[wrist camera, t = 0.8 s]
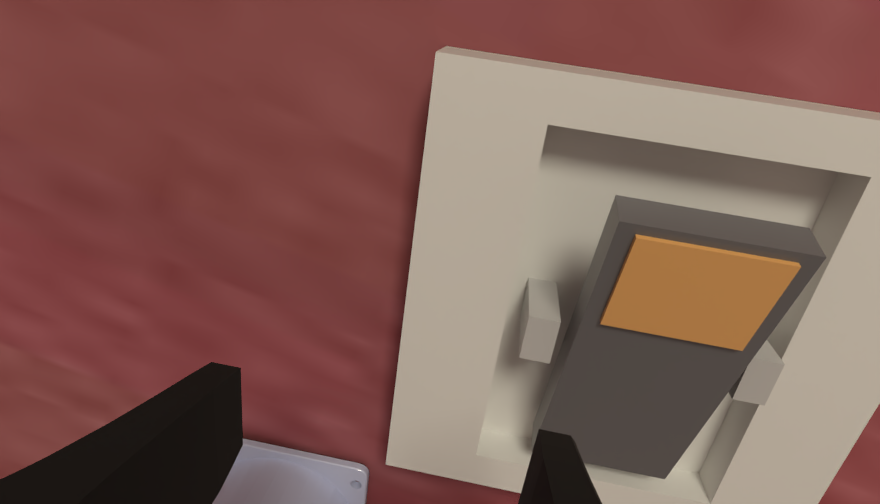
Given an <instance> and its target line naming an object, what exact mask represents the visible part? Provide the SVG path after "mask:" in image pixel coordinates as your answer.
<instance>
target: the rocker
mask: <svg viewBox="0 0 880 504" xmlns="http://www.w3.org/2000/svg"><path fill="white" fill-rule="evenodd" d="M826 258H827V257H826V255H825V254H824V252H823V250H822V248H821V247H820V245H819V243H818V242H817V240H816V238H815V236H814V235H813V233H812V231H811V229H810V228H807V227H801V226H795V225H789V224H783V223H778V222H772V221H766V220H760V219H754V218H748V217H742V216H737V215H731V214H725V213H719V212H713V211H707V210H701V209H696V208H690V207H684V206H678V205H672V204H666V203H660V202H654V201H649V200H643V199H637V198H631V197H625V196H619V195H615V198H614V201H613V204H612V206H611V209H610V212H609V215H608V218H607V220H606V223H605V226H604V229H603V231H602V234H601V237H600V240H599V242H598V245H597V248H596V251H595V254H594V256H593V259H592V262H591V265H590V267H589V270H588V273H587V276H586V278H585V281H584V284H583V287H582V290H581V292H580V295H579V298H578V301H577V303H576V306H575V309H574V312H573V314H572V317H571V320H570V323H569V326H568V328H567V331H566V334H565V337H564V339H563V342H562V345H561V348H560V350H559V353H558V356H557V359H556V362H555V364H554V367H553V370H552V373H551V375H550V378H549V381H548V384H547V386H546V389H545V392H544V395H543V398H542V400H541V403H540V406H539V409H538V411H537V414H536V417H535V420H534V422H533V432H532V452H533V448H534V444H535V441H536V437H537V433H538V430H539V429H542V430H547V431H552V432H557V433H561V434H566V435H571V437H572V438H573V439H574V441H575V443H576V445H577V448H578V450H579V453H580V455H581V458H582V460H583V462H584V463H589V464H593V465H598V466H603V467H608V468H613V469H617V470H622V471H627V472H632V473H637V474H642V475H646V476H651V477H656V478H661V479H665V478H666V477H667V476H668V474H669V473H670V472H671V470H672V469H673V467H674V466H675V465H676V463H677V462H678V461H679V459H680V458H681V456H682V455H683V454H684V452H685V451H686V450H687V448H688V447H689V446H690V444H691V443H692V441H693V440H694V439H695V437H696V436H697V435H698V433H699V432H700V430H701V429H702V428H703V426H704V425H705V424H706V422H707V421H708V419H709V418H710V417H711V415H712V414H713V413H714V411H715V410H716V408H717V407H718V406H719V404H720V403H721V402H722V400H723V399H724V398H725V396H726V395H727V393H728V392H729V391H730V389H731V388H732V387H733V385H734V384H735V382H736V381H737V380H738V378H739V377H740V376H741V374H742V373H743V371H744V370H745V369H746V367H747V366H748V365H749V363H750V362H751V360H752V359H753V358H754V356H755V355H756V354H757V352H758V351H759V349H760V348H761V347H762V345H763V344H764V343H765V341H766V340H767V339H768V337H769V336H770V334H771V333H772V332H773V330H774V329H775V328H776V326H777V325H778V323H779V322H780V321H781V319H782V318H783V317H784V315H785V314H786V312H787V311H788V310H789V308H790V307H791V306H792V304H793V303H794V301H795V300H796V299H797V297H798V296H799V295H800V293H801V292H802V291H803V289H804V288H805V286H806V285H807V284H808V282H809V281H810V280H811V278H812V277H813V275H814V274H815V273H816V271H817V270H818V269H819V267H820V266H821V264H822V263H823V262H824V260H825V259H826Z"/></svg>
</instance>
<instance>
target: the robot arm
mask: <svg viewBox="0 0 880 504" xmlns="http://www.w3.org/2000/svg"><path fill="white" fill-rule="evenodd" d="M368 480H369V470H368V468H367V467H366V466H364V465H363V464H360V463H356V462H351V461H346V460H342V459H337V458H332V457H328V456H323V455H318V454H314V453H309V452H304V451H300V450H295V449H290V448H286V447H281V446H276V445H272V444H267V443H262V442H258V441H253V440H248V439H244V438H243V432H242V400H241V368H238V367H233V366H228V365H223V364H218V363H213V362H211V363H209V364H207V365H206V366H204V367H202V368H200V369H199V370H197V371H195V372H194V373H192V374H190V375H189V376H187V377H185V378H184V379H182V380H181V381H179V382H177V383H176V384H174V385H172V386H171V387H169V388H167V389H166V390H164V391H162V392H161V393H159V394H158V395H156V396H154V397H153V398H151V399H149V400H148V401H146V402H144V403H142V404H141V405H139V406H137V407H136V408H134V409H132V410H131V411H129V412H127V413H126V414H124V415H122V416H120V417H119V418H117V419H115V420H114V421H112V422H110V423H108V424H107V425H105V426H103V427H101V428H99V429H97V430H96V431H94V432H92V433H90V434H88V435H86V436H85V437H83V438H81V439H79V440H77V441H75V442H74V443H72V444H70V445H68V446H66V447H64V448H62V449H61V450H59V451H57V452H55V453H53V454H51V455H50V456H48V457H46V458H44V459H42V460H40V461H38V462H36V463H34V464H32V465H30V466H28V467H26V468H23V469H21V470H19V471H17V472H15V473H13V474H11V475H9V476H7V477H5V478H2V479H0V504H366V499H367V490H368ZM357 481H358V482H357ZM518 504H602V502H601V500H600V498H599V496H598V494H597V492H596V489H595V487H594V485H593V483H592V481H591V479H590V476H589V474H588V472H587V469H586V467H585V465H584V462H583V460H582V458H581V455H580V453H579V450H578V448H577V445H576V443H575V441H574V439H573V438H572V437H571V435H566V434H561V433H557V432H552V431H547V430H542V429H539V430H538V433H537V437H536V441H535V444H534V448H533V452H532V455H531V459H530V462H529V466H528V470H527V473H526V477H525V480H524V484H523V488H522V491H521V495H520V499H519V502H518Z"/></svg>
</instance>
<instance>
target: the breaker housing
mask: <svg viewBox="0 0 880 504" xmlns="http://www.w3.org/2000/svg"><path fill="white" fill-rule="evenodd" d="M615 195H619V196H625V197H631V198H637V199H643V200H649V201H654V202H660V203H666V204H672V205H678V206H684V207H690V208H696V209H701V210H707V211H713V212H719V213H725V214H731V215H737V216H742V217H748V218H754V219H760V220H766V221H772V222H778V223H783V224H789V225H795V226H801V227H807V228H810V229H811V231H812V233H813V235H814V236H815V238H816V240H817V242H818V243H819V245H820V247H821V248H822V250H823V252H824V254H825V255H826V257H827V258H826V259H825V260H824V262H823V263H822V264H821V266H820V267H819V269H818V270H817V271H816V273H815V274H814V275H813V277H812V278H811V280H810V281H809V282H808V284H807V285H806V286H805V288H804V289H803V291H802V292H801V293H800V295H799V296H798V297H797V299H796V300H795V301H794V303H793V304H792V306H791V307H790V308H789V310H788V311H787V312H786V314H785V315H784V317H783V318H782V319H781V321H780V322H779V323H778V325H777V326H776V328H775V329H774V330H773V332H772V333H771V334H770V336H769V337H768V339H767V340H766V341H765V343H764V344H763V345H762V347H761V348H760V349H759V351H758V352H757V354H756V355H755V356H754V358H753V359H752V360H751V362H750V363H749V365H748V366H747V367H746V369H745V370H744V371H743V373H742V374H741V376H740V377H739V378H738V380H737V381H736V382H735V384H734V385H733V387H732V388H731V389H730V391H729V392H728V393H727V395H726V396H725V398H724V399H723V400H722V402H721V403H720V404H719V406H718V407H717V408H716V410H715V411H714V413H713V414H712V415H711V417H710V418H709V419H708V421H707V422H706V424H705V425H704V426H703V428H702V429H701V430H700V432H699V433H698V435H697V436H696V437H695V439H694V440H693V441H692V443H691V444H690V446H689V447H688V448H687V450H686V451H685V452H684V454H683V455H682V456H681V458H680V459H679V461H678V462H677V463H676V465H675V466H674V467H673V469H672V470H671V472H670V473H669V474H668V476H667V477H666V478H665V479H661V478H656V477H651V476H646V475H642V474H637V473H632V472H627V471H622V470H617V469H613V468H608V467H603V466H598V465H593V464H589V463H584V465H585V467H586V469H587V472H588V474H589V476H590V479H591V481H592V483H593V485H594V487H595V489H596V492H597V494H598V496H599V498H600V500H601V502H602V504H818V503H819V501H820V500H821V498H822V496H823V495H824V493H825V491H826V490H827V488H828V486H829V485H830V483H831V482H832V480H833V478H834V477H835V475H836V473H837V472H838V470H839V469H840V467H841V465H842V464H843V462H844V460H845V459H846V457H847V455H848V454H849V452H850V451H851V449H852V447H853V446H854V444H855V442H856V441H857V439H858V438H859V436H860V434H861V433H862V431H863V429H864V428H865V426H866V424H867V423H868V421H869V420H870V418H871V416H872V415H873V413H874V411H875V410H876V408H877V407H878V405H879V403H880V113H878V112H871V111H865V110H858V109H852V108H845V107H839V106H832V105H826V104H819V103H813V102H806V101H800V100H793V99H787V98H781V97H774V96H768V95H761V94H755V93H748V92H742V91H735V90H729V89H722V88H716V87H709V86H703V85H696V84H690V83H683V82H677V81H670V80H664V79H657V78H651V77H644V76H638V75H631V74H625V73H618V72H612V71H605V70H599V69H592V68H586V67H579V66H573V65H566V64H560V63H553V62H547V61H540V60H534V59H528V58H521V57H515V56H508V55H502V54H495V53H489V52H482V51H476V50H469V49H463V48H456V47H450V46H446V47H444V48H442V49H440V50H438V51H436V55H435V63H434V71H433V80H432V88H431V96H430V104H429V112H428V121H427V129H426V137H425V145H424V153H423V162H422V170H421V178H420V186H419V194H418V203H417V211H416V219H415V227H414V235H413V244H412V252H411V260H410V268H409V277H408V285H407V293H406V301H405V309H404V318H403V326H402V334H401V342H400V350H399V359H398V367H397V375H396V383H395V391H394V400H393V408H392V416H391V424H390V432H389V441H388V449H387V457H386V465H390V466H395V467H400V468H404V469H409V470H414V471H419V472H423V473H428V474H433V475H437V476H442V477H447V478H451V479H456V480H461V481H465V482H470V483H475V484H479V485H484V486H489V487H494V488H498V489H503V490H508V491H512V492H517V493H521V491H522V488H523V484H524V480H525V477H526V473H527V470H528V466H529V462H530V459H531V455H532V432H533V422H534V420H535V417H536V414H537V411H538V409H539V406H540V403H541V400H542V398H543V395H544V392H545V389H546V386H547V384H548V381H549V378H550V375H551V373H552V370H553V367H554V364H555V362H556V359H557V356H558V353H559V350H560V348H561V345H562V342H563V339H564V337H565V334H566V331H567V328H568V326H569V323H570V320H571V317H572V314H573V312H574V309H575V306H576V303H577V301H578V298H579V295H580V292H581V290H582V287H583V284H584V281H585V278H586V276H587V273H588V270H589V267H590V265H591V262H592V259H593V256H594V254H595V251H596V248H597V245H598V242H599V240H600V237H601V234H602V231H603V229H604V226H605V223H606V220H607V218H608V215H609V212H610V209H611V206H612V204H613V201H614V198H615Z"/></svg>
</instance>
